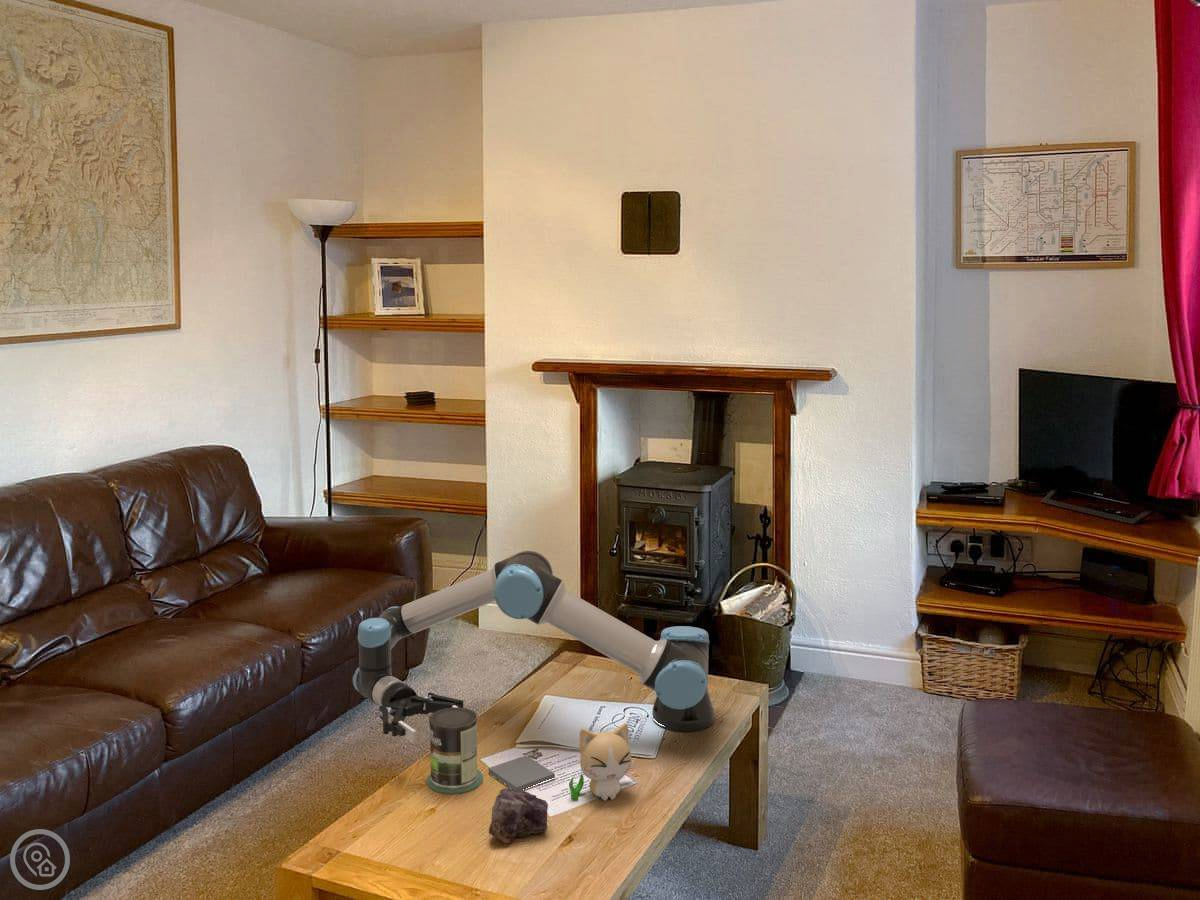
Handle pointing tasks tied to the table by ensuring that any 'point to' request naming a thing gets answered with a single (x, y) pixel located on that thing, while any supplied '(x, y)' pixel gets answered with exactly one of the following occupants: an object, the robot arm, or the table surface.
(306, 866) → the table surface
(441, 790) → the coaster
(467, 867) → the table surface
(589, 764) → the kitten
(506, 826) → the rock
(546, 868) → the table surface
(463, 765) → the coffee can
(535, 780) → the slate tile
